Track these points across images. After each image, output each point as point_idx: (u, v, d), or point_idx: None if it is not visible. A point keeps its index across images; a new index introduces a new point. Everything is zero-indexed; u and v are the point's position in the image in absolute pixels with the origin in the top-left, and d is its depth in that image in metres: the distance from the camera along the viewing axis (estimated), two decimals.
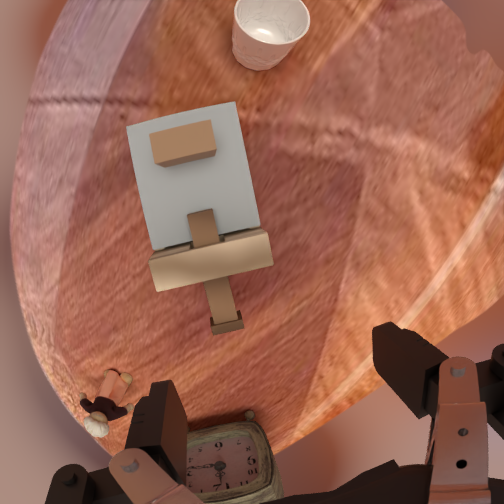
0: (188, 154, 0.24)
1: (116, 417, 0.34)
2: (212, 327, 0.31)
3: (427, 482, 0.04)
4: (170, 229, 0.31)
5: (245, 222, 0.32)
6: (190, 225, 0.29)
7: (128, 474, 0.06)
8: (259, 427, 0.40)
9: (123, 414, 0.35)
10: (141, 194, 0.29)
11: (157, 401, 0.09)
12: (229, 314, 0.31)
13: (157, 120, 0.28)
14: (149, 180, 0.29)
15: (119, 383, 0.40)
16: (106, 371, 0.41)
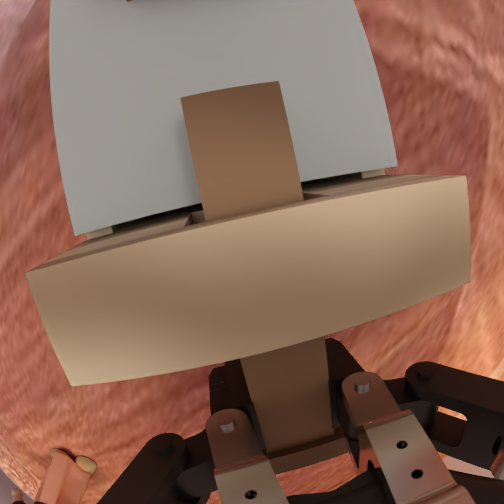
0: None
1: None
2: None
3: (386, 501, 0.04)
4: (126, 169, 0.09)
5: (360, 154, 0.10)
6: (192, 134, 0.07)
7: (231, 432, 0.07)
8: None
9: None
10: (54, 72, 0.08)
11: (235, 368, 0.11)
12: (312, 428, 0.09)
13: None
14: (81, 35, 0.08)
15: (74, 475, 0.18)
16: (53, 451, 0.19)
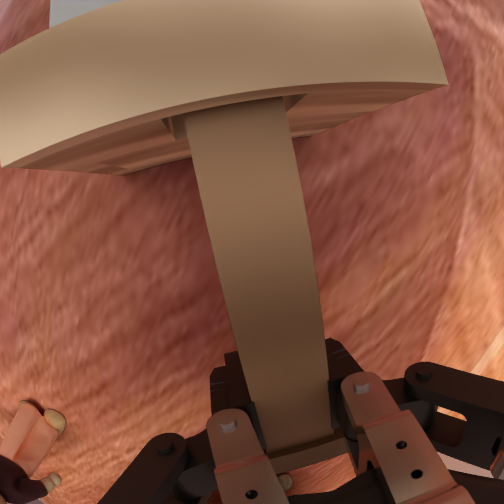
0: None
1: (25, 501, 0.10)
2: None
3: (385, 501, 0.04)
4: None
5: None
6: (192, 134, 0.07)
7: (231, 432, 0.07)
8: None
9: (39, 496, 0.12)
10: None
11: (236, 368, 0.11)
12: (312, 428, 0.09)
13: None
14: None
15: (40, 429, 0.17)
16: (21, 403, 0.18)
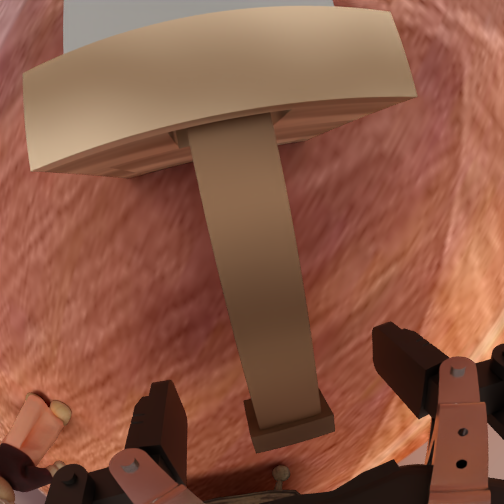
0: None
1: (31, 488, 0.12)
2: (255, 438, 0.10)
3: (427, 482, 0.04)
4: None
5: None
6: (194, 145, 0.08)
7: (128, 474, 0.06)
8: None
9: (44, 483, 0.13)
10: None
11: (157, 401, 0.09)
12: (301, 405, 0.11)
13: None
14: None
15: (46, 420, 0.18)
16: (28, 395, 0.19)
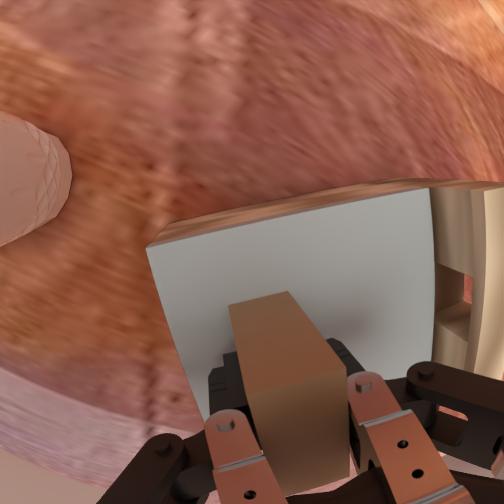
0: (346, 427, 0.08)
1: None
2: None
3: (386, 500, 0.04)
4: (410, 358, 0.15)
5: (423, 219, 0.13)
6: None
7: (229, 433, 0.07)
8: None
9: None
10: None
11: (234, 368, 0.11)
12: None
13: (203, 405, 0.14)
14: None
15: None
16: None
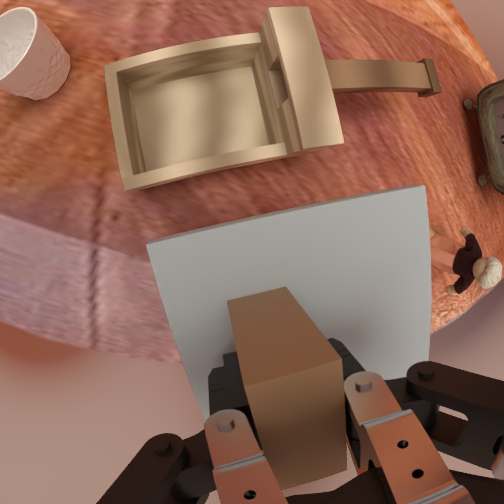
0: (343, 419, 0.08)
1: (478, 247, 0.27)
2: (434, 90, 0.21)
3: (386, 500, 0.04)
4: (407, 354, 0.15)
5: (419, 216, 0.14)
6: None
7: (229, 433, 0.07)
8: (485, 89, 0.26)
9: (474, 238, 0.28)
10: None
11: (234, 368, 0.11)
12: (420, 70, 0.21)
13: (202, 401, 0.14)
14: None
15: (435, 243, 0.34)
16: None
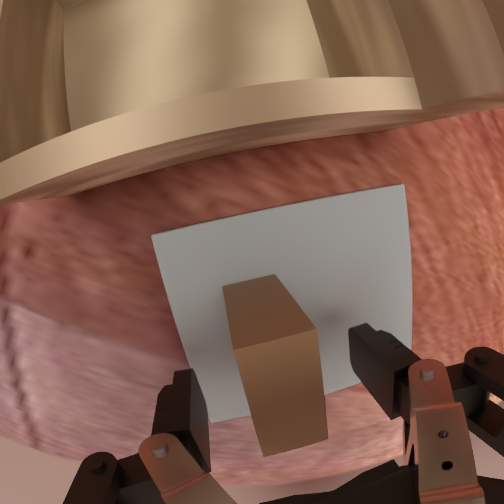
0: (321, 387, 0.10)
1: None
2: None
3: (413, 487, 0.04)
4: None
5: (398, 212, 0.15)
6: None
7: (159, 458, 0.07)
8: None
9: None
10: (328, 391, 0.17)
11: (182, 388, 0.10)
12: None
13: (199, 380, 0.16)
14: None
15: None
16: None
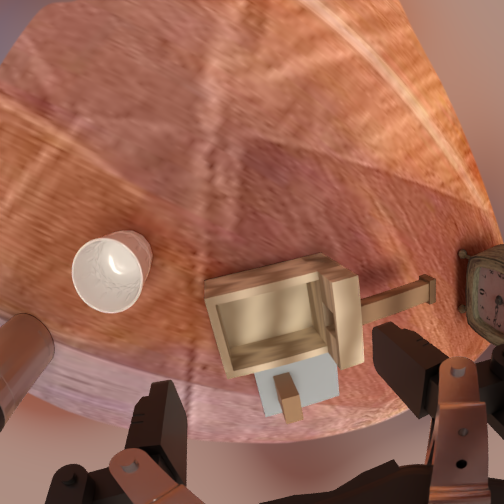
0: (300, 406, 0.40)
1: None
2: (430, 303, 0.35)
3: (427, 482, 0.04)
4: (329, 388, 0.47)
5: None
6: None
7: (128, 474, 0.06)
8: (476, 257, 0.40)
9: None
10: (307, 404, 0.47)
11: (157, 401, 0.09)
12: (424, 290, 0.35)
13: (263, 402, 0.46)
14: None
15: None
16: None
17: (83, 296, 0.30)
